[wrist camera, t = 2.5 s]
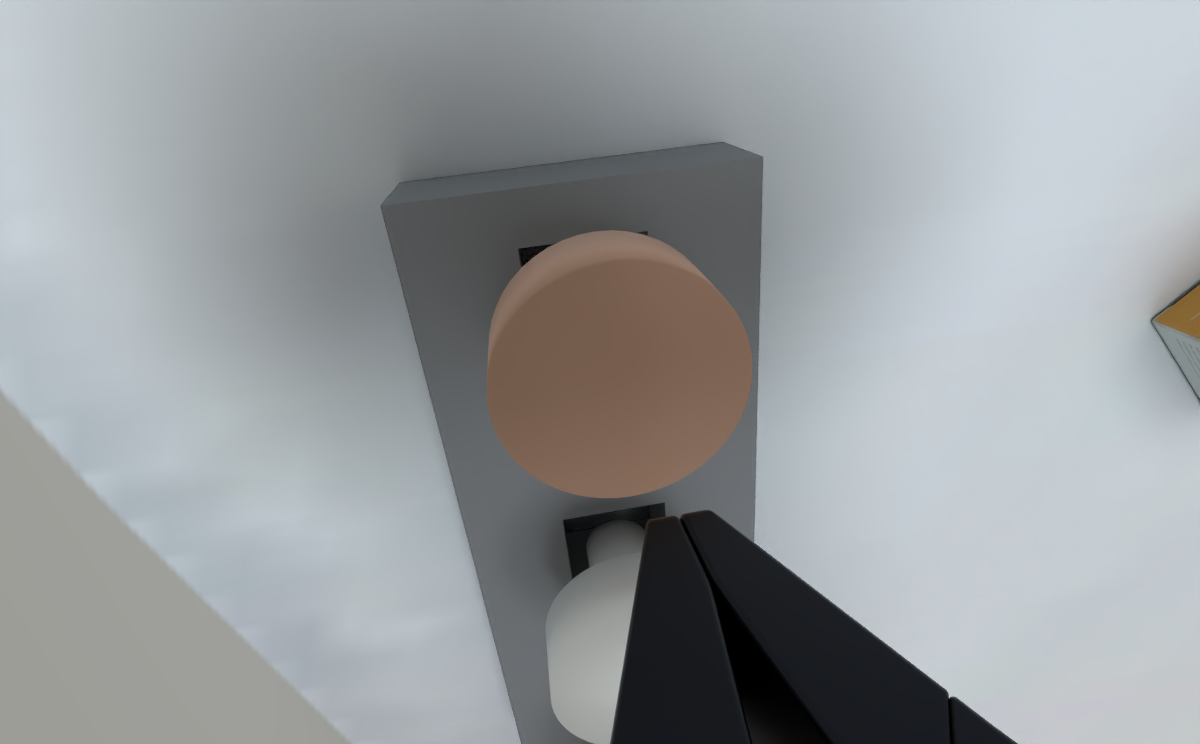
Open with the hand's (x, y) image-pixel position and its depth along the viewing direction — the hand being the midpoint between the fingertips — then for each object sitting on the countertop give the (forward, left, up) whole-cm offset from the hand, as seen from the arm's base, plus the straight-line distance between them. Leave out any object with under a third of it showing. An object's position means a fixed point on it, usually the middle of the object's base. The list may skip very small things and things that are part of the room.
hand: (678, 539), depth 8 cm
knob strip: (-7, -4, -12) cm, 14 cm away
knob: (0, 0, -9) cm, 9 cm away
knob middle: (-7, -4, -9) cm, 12 cm away
